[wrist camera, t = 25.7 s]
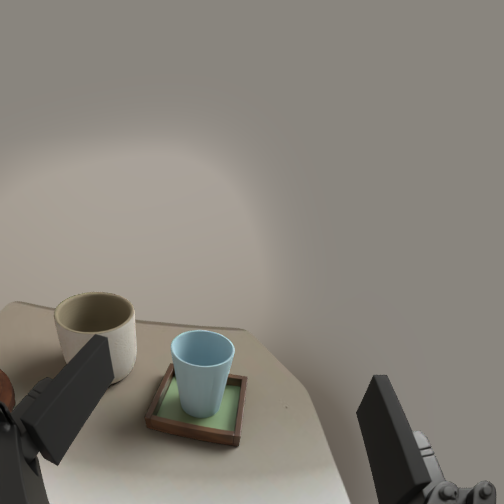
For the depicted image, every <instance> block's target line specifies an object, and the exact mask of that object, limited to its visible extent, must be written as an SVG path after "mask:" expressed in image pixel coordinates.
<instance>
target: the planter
mask: <svg viewBox="0 0 504 504" xmlns="http://www.w3.org/2000/svg"><path fill="white" fill-rule="evenodd" d="M54 319H55V324H56V329H57V333H58V337H59V341H60V345H61V349H62V352H63V355H64V358H65V361H66V363H67V364H68V362H69V361H70V360H71V359H72V358H73V357H74V356H75V355H76V354H77V353H78V352H79V351H80V349H81V348H82V347H83V346H84V345H85V344H86V343H87V342H88V341H89V340H90V339H91V338H92V337H93V336H94V335H95V334H98V335H101V336H105V337H108V342H109V349H110V355H111V361H112V366H113V372H114V377H115V378H114V380H113V381H112V383H111V384H113V383H116V382H118V381H120V380H122V379H123V378H125V377H126V376H127V375H128V374H129V373H130V371H131V370H132V368H133V366H134V363H135V359H136V350H137V349H136V330H135V312H134V307H133V305H132V304H131V303H130V302H129V301H128V300H127V299H125V298H123V297H121V296H119V295H115V294H112V293H105V292H89V293H83V294H78V295H74V296H72V297H69V298H67V299H65V300H64V301H62V302H61V303H60V304H59V305H58V306H57V307H56V309H55V312H54Z"/></svg>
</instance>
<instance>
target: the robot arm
mask: <svg viewBox="0 0 504 504" xmlns="http://www.w3.org/2000/svg"><path fill="white" fill-rule="evenodd" d="M114 378H115V377H114V372H113V366H112V361H111V355H110V349H109V342H108V337H105V336H101V335H98V334H95V335H94V336H93V337H92V338H91V339H90V340H89V341H88V342H87V343H86V344H85V345H84V346H83V347H82V348H81V349H80V351H79V352H78V353H77V354H76V355H75V356H74V357H73V358H72V359H71V360H70V361H69V362H68V364H67V365H66V366H65V367H64V368H63V369H62V370H61V371H60V372H59V374H58V375H57V376H56V377H55V378H54V379H51V378H49V377H46V378H45V379H43V380H41V381H39V382H38V383H37V384H36V385H35V386H34V387H33V388H32V390H31V391H30V392H29V393H28V395H26V396H25V397H24V398H23V399H22V401H21V402H20V403H19V404H18V405H17V406H16V407H15V409H14V410H13V411H12V412H11V413H10V411H9V409H8V407H7V406H6V405H5V403H3V402H1V401H0V504H49V501H48V498H47V494H46V490H45V487H44V483H43V479H42V474H41V470H40V465H39V460H38V458H37V454H38V452H39V451H40V453H41V454H42V456H43V457H44V458H45V459H46V460H48V461H50V462H52V463H54V464H55V465H57V466H58V465H59V463H60V461H61V460H62V458H63V457H64V455H65V453H66V452H67V450H68V449H69V447H70V445H71V444H72V442H73V441H74V439H75V437H76V436H77V434H78V433H79V431H80V430H81V428H82V427H83V425H84V423H85V422H86V420H87V419H88V417H89V416H90V414H91V413H92V411H93V410H94V408H95V407H96V405H97V404H98V402H99V401H100V399H101V398H102V396H103V395H104V393H105V392H106V390H107V389H108V387H109V386H110V384H111V383H112V381H113V380H114ZM356 414H357V418H358V421H359V425H360V429H361V432H362V436H363V440H364V444H365V447H366V451H367V455H368V459H369V463H370V467H371V471H372V476H373V480H374V484H375V488H376V493H377V497H378V502H379V504H496V489H495V487H494V485H493V484H492V483H490V482H488V481H481V482H479V483H478V484H477V485H475V486H474V487H473V488H458V487H457V486H456V485H455V484H454V483H452V482H450V481H446V480H445V478H444V476H443V473H442V470H441V468H440V466H439V464H438V461H437V459H436V456H435V455H434V452H433V449H432V448H431V445H430V443H429V440H428V438H427V437H426V436H425V435H424V434H423V433H422V432H421V431H415V432H412V430H411V427H410V425H409V423H408V420H407V418H406V416H405V413H404V411H403V409H402V407H401V404H400V403H399V400H398V398H397V396H396V394H395V391H394V389H393V387H392V385H391V383H390V380H389V378H388V376H387V375H373V377H372V380H371V382H370V384H369V387H368V389H367V391H366V393H365V395H364V397H363V399H362V402H361V404H360V406H359V408H358V410H357V412H356Z"/></svg>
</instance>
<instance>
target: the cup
mask: <svg viewBox="0 0 504 504" xmlns="http://www.w3.org/2000/svg"><path fill="white" fill-rule="evenodd" d="M234 352H235V349H234V346H233V344H232V342H231V341H230V340H229V339H227V338H226V337H224V336H223V335H221V334H218V333H215V332H211V331H205V330H193V331H188V332H184V333H182V334H180V335H178V336H177V337H175V338H174V339H173V341H172V343H171V353H172V359H173V364H174V370H175V375H176V381H177V387H178V392H179V397H180V402H181V406H182V409H183V410H184V411H185V412H186V413H187V414H189V415H191V416H193V417H197V418H207V417H210V416H213V415H214V414H216V413H217V412H218V411H219V408H220V404H221V401H222V397H223V393H224V389H225V386H226V382H227V378H228V374H229V370H230V367H231V364H232V360H233V356H234Z"/></svg>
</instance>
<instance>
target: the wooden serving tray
mask: <svg viewBox="0 0 504 504" xmlns="http://www.w3.org/2000/svg"><path fill="white" fill-rule="evenodd" d="M247 379H248V377H245V376H243V377H242V376H239V375H232V374H228V378H227V382H226V386H225V389H224V393H223V397H222V401H221V404H220V408H219V411H218V412H217V413H216V414H214V415H213V416H210V417H207V418H197V417H193V416H191V415H189V414H187V413H186V412H185V411H184V410H183V409H182V406H181V402H180V397H179V392H178V387H177V381H176V375H175V370H174V364H171V363H170V365H169V367H168V369H167V371H166V373H165V376H164V378H163V380H162V382H161V384H160V386H159V388H158V390H157V392H156V394H155V397H154V399H153V401H152V403H151V405H150V407H149V409H148V411H147V413H146V416H145V421H146V427H147V428H150V429H154V430H157V431H161V432H165V433H169V434H173V435H178V436H182V437H187V438H192V439H197V440H202V441H207V442H213V443H219V444H225V445H232V446H239V442H240V437H241V429H242V421H243V412H244V404H245V396H246V387H247Z"/></svg>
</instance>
